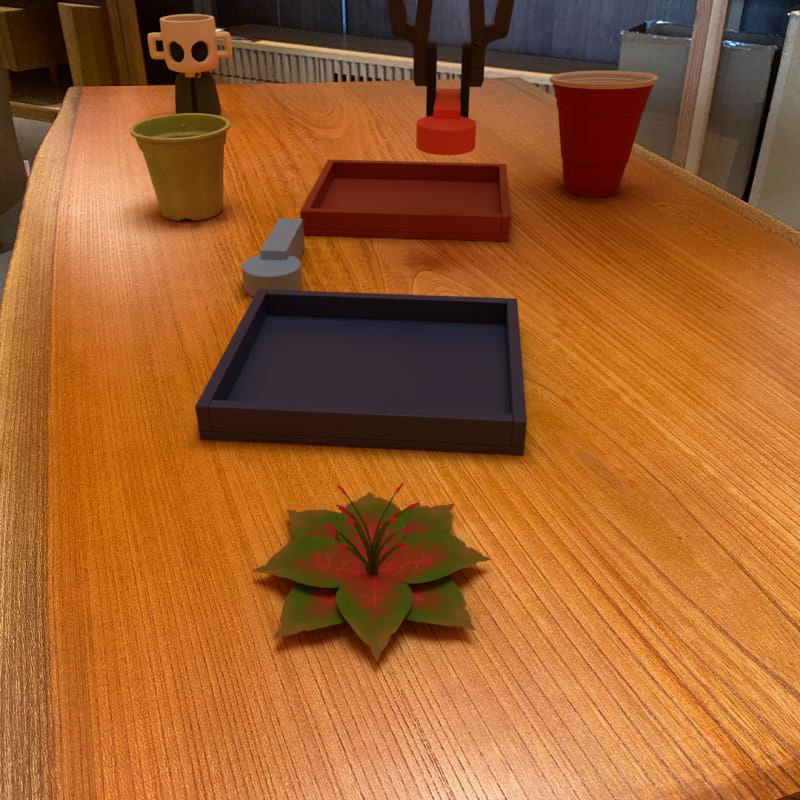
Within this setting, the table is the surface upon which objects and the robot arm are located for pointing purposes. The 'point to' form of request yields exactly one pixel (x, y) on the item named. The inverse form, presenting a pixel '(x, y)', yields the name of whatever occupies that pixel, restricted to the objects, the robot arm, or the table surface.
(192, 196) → the plant pot
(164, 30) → the pink mug head figurine
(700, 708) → the table surface
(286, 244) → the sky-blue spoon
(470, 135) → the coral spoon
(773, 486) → the table surface
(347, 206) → the brick tray
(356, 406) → the navy tray
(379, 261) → the table surface
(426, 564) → the lily flower
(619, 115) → the plastic cup
